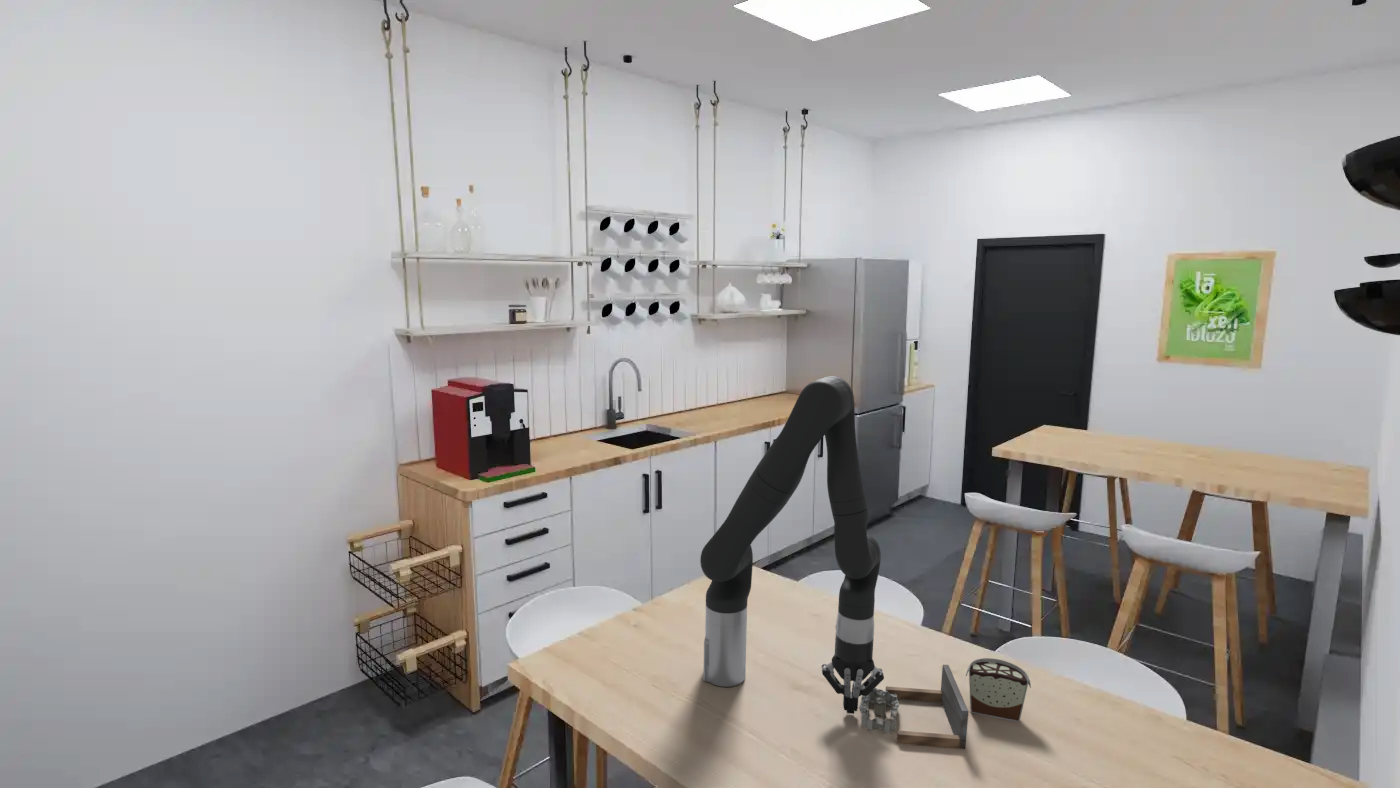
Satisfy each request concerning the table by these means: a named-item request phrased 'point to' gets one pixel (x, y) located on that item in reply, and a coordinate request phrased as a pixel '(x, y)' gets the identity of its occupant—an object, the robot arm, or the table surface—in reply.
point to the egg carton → (879, 710)
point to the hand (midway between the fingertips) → (850, 711)
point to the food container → (997, 688)
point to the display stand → (953, 710)
